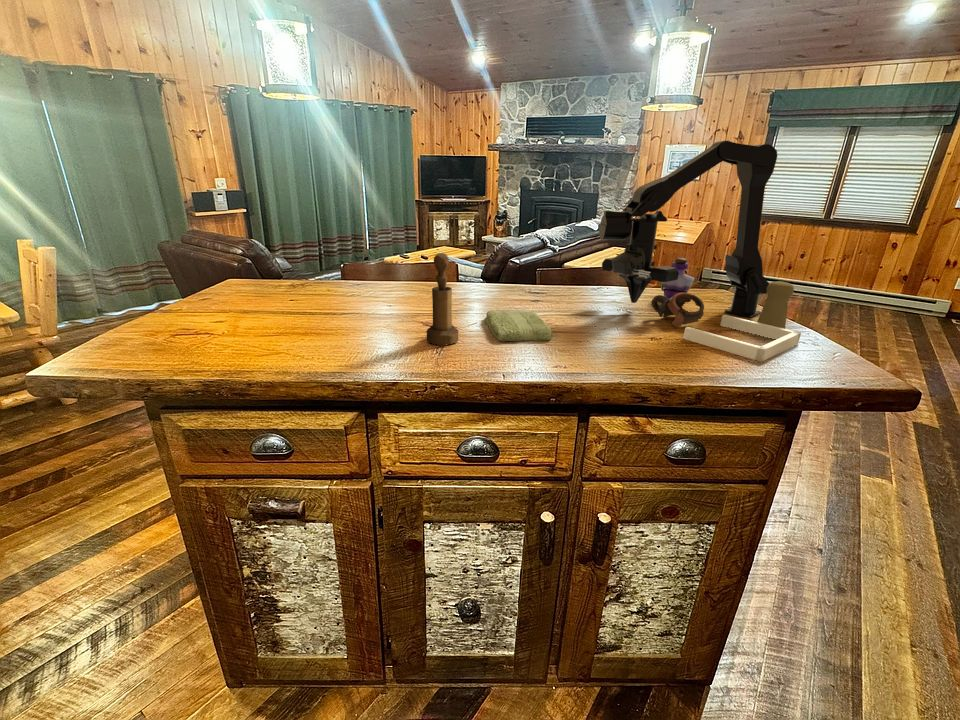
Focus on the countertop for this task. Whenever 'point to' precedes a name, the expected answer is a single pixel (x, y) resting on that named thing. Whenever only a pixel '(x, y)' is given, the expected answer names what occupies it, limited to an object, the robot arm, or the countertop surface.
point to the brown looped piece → (678, 308)
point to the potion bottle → (682, 282)
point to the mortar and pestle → (442, 307)
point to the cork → (776, 304)
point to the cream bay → (759, 353)
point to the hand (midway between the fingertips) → (633, 302)
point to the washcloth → (518, 326)
